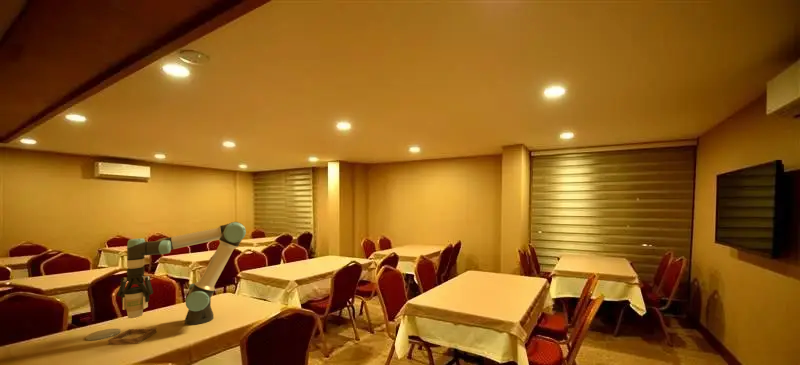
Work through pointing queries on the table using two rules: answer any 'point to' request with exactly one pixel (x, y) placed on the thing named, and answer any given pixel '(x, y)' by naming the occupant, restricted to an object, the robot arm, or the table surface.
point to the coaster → (102, 334)
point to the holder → (119, 337)
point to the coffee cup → (134, 302)
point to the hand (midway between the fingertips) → (135, 308)
